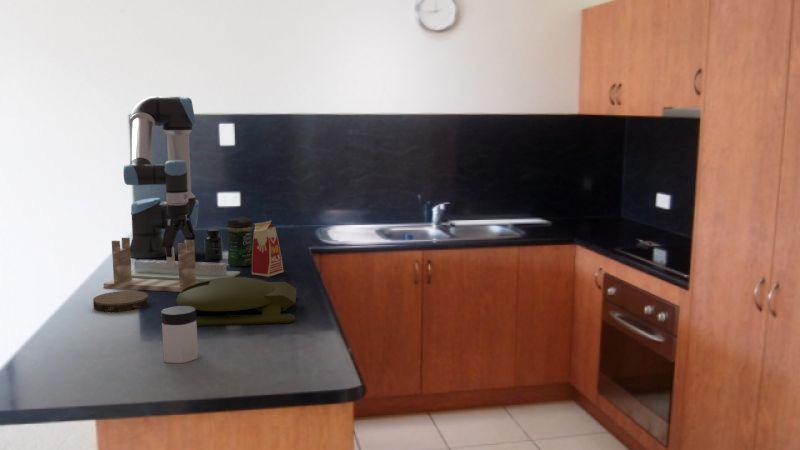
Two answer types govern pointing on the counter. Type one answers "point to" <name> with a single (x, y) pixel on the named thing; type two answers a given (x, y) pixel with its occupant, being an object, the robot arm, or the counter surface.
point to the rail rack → (127, 282)
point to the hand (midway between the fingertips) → (180, 261)
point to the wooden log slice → (120, 301)
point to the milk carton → (266, 250)
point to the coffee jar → (240, 241)
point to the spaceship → (240, 300)
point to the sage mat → (176, 276)
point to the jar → (179, 334)
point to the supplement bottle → (213, 245)
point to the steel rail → (162, 268)
